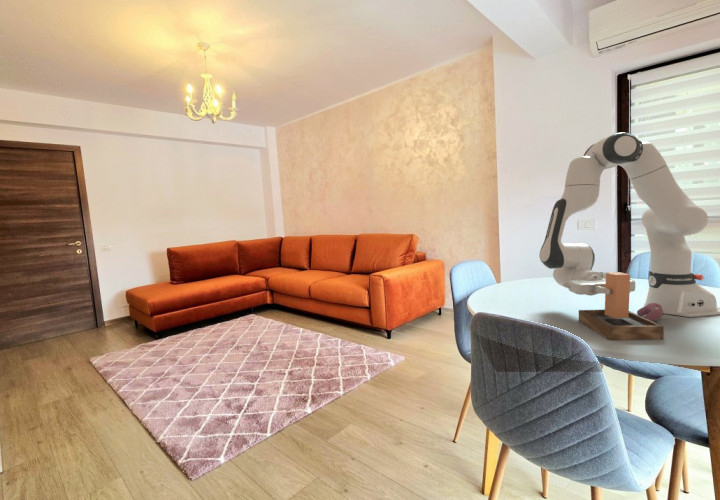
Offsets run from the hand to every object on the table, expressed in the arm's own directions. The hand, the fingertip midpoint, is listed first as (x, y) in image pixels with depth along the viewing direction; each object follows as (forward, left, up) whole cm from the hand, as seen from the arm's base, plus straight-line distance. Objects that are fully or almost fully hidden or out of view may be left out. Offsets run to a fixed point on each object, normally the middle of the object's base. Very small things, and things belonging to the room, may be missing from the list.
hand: (619, 291), depth 109 cm
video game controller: (-16, -10, -13) cm, 23 cm away
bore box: (0, -1, -13) cm, 13 cm away
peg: (0, -1, -8) cm, 8 cm away
